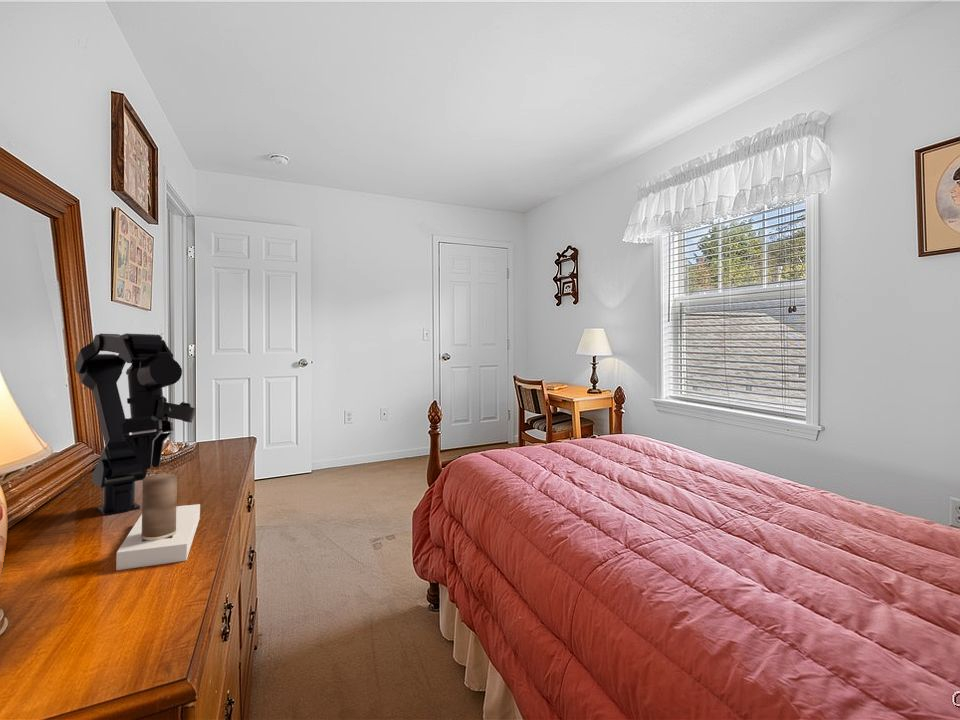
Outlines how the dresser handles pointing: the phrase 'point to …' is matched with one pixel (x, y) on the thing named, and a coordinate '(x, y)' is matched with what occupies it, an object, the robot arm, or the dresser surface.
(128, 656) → the dresser surface
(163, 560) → the board
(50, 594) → the dresser surface
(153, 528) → the peg
